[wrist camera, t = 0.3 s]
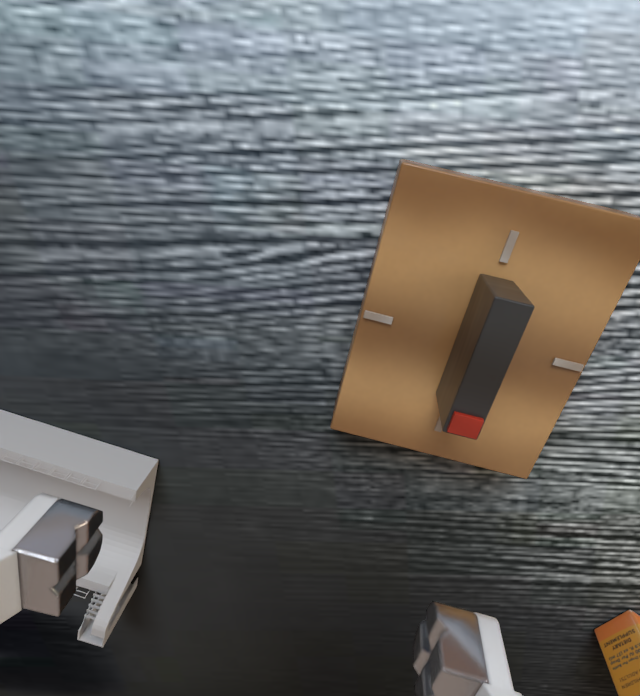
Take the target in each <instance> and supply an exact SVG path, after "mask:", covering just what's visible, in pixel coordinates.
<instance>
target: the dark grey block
mask: <svg viewBox="0 0 640 696" xmlns="http://www.w3.org/2000/svg"><path fill="white" fill-rule="evenodd" d="M534 308H535V306H534V305H533V304H532V303H531V301H530V300H529V299H528V298H527V297H526V295H525V294H524V293H523V292H522V291H521V289H520V288H519V287H518V286H517V285H516V284H515V282H514V281H510V280H506V279H502V278H498V277H494V276H490V275H486V274H480V275H479V277H478V280H477V283H476V286H475V288H474V291H473V294H472V296H471V299H470V302H469V304H468V307H467V310H466V313H465V315H464V318H463V321H462V323H461V326H460V329H459V331H458V334H457V337H456V339H455V342H454V345H453V348H452V350H451V353H450V356H449V358H448V361H447V364H446V366H445V369H444V372H443V375H442V377H441V380H440V383H439V385H438V388H437V391H436V397H437V403H438V409H439V414H440V420H441V425H442V431H443V432H447V433H450V434H454V435H458V436H462V437H466V438H470V439H474V440H477V439H478V436H479V434H480V432H481V429H482V427H483V425H484V423H485V420H486V418H487V416H488V413H489V411H490V409H491V407H492V404H493V402H494V400H495V397H496V395H497V393H498V390H499V388H500V386H501V384H502V381H503V379H504V377H505V374H506V372H507V370H508V368H509V365H510V363H511V361H512V358H513V356H514V354H515V351H516V349H517V347H518V345H519V342H520V340H521V338H522V335H523V333H524V331H525V329H526V326H527V324H528V322H529V319H530V317H531V315H532V312H533V310H534Z"/></svg>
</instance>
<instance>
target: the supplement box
mask: <svg viewBox="0 0 640 696" xmlns="http://www.w3.org/2000/svg"><path fill="white" fill-rule="evenodd" d="M594 631H595V634H596V637H597V639H598V642H599V645H600V647H601V650H602V652H603V655H604V658H605V660H606V663H607V666H608V669H609V671H610V674H611V677H612V679H613V682H614V685H615V687H616V690H617V693H618V695H619V696H640V616H639V615H638V614H636V613H635V612H634V611H632V610H627V611H625V612H624V613H622V614H620V615H618V616H617V617H615V618H613V619H612V620H610V621H608V622H606V623H605V624H603V625H601V626H599V627H597V628H596V629H595V630H594Z"/></svg>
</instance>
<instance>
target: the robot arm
mask: <svg viewBox="0 0 640 696" xmlns="http://www.w3.org/2000/svg"><path fill="white" fill-rule="evenodd" d="M102 522H103V511H101V510H98V509H95V508H92V507H88V506H85V505H82V504H79V503H75V502H72V501H69V500H65V499H62V498H58V497H55V496H52V495H48V494H45V493H41V494H39V495H37V496H35V497H34V498H33V499H32V500H31V501H30V502H29V503H28V504H27V505H26V506H25V507H24V508H23V509H22V510H21V511H20V512H19V513H18V514H17V515H16V516H15V517H14V518H13V519H12V520H11V521H10V522H9V523H8V524H7V525H6V526H5V527H4V528H3V529H2V530H1V531H0V624H1V623H2V622H4V621H6V620H7V619H9V618H10V617H12V616H13V615H15V614H16V613H18V612H19V611H21V610H22V608H25V609H29V610H33V611H37V612H41V613H45V614H49V615H53V616H57V617H58V616H59V615H60V614H61V612H62V611H63V609H64V608H65V606H66V605H67V603H68V602H69V601H70V599H71V598H72V596H73V595H74V593H75V592H76V580H78V579H80V578H82V577H84V576H85V575H87V574H88V573H89V571H90V570H91V568H92V567H93V565H94V564H95V561H96V559H97V557H98V555H99V553H100V550H101V546H102V540H103V534H102V533H101V531H100V530H99V526H100V525H101V523H102ZM426 617H427V619H426V620H424V621H422V622H420V624H419V626H418V629H417V631H416V635H415V639H414V644H413V666H414V668H415V669H416V671H417V673H418V674H419V677H418V679H417V681H416V683H415V685H414V695H415V696H522V694H521V693H518V692H515V691H514V688H513V684H512V679H511V675H510V671H509V666H508V662H507V657H506V653H505V648H504V644H503V640H502V635H501V631H500V626H499V622H498V621H497V619H496V618H494V617H490V616H487V615H483V614H479V613H476V612H473V611H470V610H466V609H462V608H459V607H455V606H451V605H447V604H443V603H439V602H436V601H432V602H431V603H430V604H429V606H428V608H427V609H426Z"/></svg>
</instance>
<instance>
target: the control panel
mask: <svg viewBox="0 0 640 696" xmlns="http://www.w3.org/2000/svg"><path fill="white" fill-rule="evenodd" d="M639 260H640V217H639V216H636V215H633V214H630V213H627V212H624V211H619V210H615V209H611V208H607V207H603V206H598V205H594V204H590V203H586V202H582V201H577V200H573V199H569V198H565V197H561V196H556V195H552V194H548V193H544V192H540V191H535V190H531V189H527V188H523V187H519V186H514V185H510V184H506V183H502V182H498V181H493V180H489V179H485V178H481V177H477V176H472V175H468V174H464V173H460V172H456V171H451V170H447V169H443V168H439V167H435V166H431V165H426V164H422V163H418V162H414V161H410V160H405V159H400V161H399V165H398V169H397V173H396V176H395V180H394V184H393V188H392V191H391V195H390V199H389V203H388V206H387V210H386V214H385V218H384V221H383V225H382V229H381V233H380V236H379V240H378V244H377V248H376V251H375V255H374V259H373V263H372V266H371V270H370V274H369V278H368V281H367V285H366V289H365V293H364V296H363V300H362V304H361V308H360V311H359V315H358V319H357V323H356V326H355V330H354V334H353V338H352V341H351V345H350V349H349V353H348V356H347V360H346V364H345V368H344V371H343V375H342V379H341V383H340V386H339V390H338V394H337V398H336V401H335V406H334V411H333V416H332V421H331V426H330V427H331V429H334V430H338V431H342V432H346V433H349V434H353V435H357V436H361V437H365V438H369V439H373V440H377V441H380V442H384V443H388V444H392V445H396V446H400V447H404V448H408V449H412V450H415V451H419V452H423V453H427V454H431V455H435V456H439V457H443V458H447V459H450V460H454V461H458V462H462V463H466V464H470V465H474V466H478V467H482V468H485V469H489V470H493V471H497V472H501V473H505V474H509V475H513V476H517V477H520V478H524V479H527V478H528V476H529V474H530V472H531V470H532V468H533V466H534V464H535V462H536V460H537V458H538V456H539V454H540V453H541V451H542V449H543V447H544V445H545V443H546V441H547V439H548V437H549V435H550V433H551V431H552V429H553V427H554V425H555V423H556V421H557V419H558V418H559V416H560V414H561V412H562V410H563V408H564V406H565V404H566V402H567V400H568V398H569V396H570V394H571V392H572V390H573V388H574V386H575V384H576V383H577V381H578V379H579V377H580V375H581V373H582V371H583V369H584V367H585V365H586V363H587V361H588V359H589V357H590V355H591V353H592V351H593V349H594V348H595V346H596V344H597V342H598V340H599V338H600V336H601V334H602V332H603V330H604V328H605V326H606V324H607V322H608V320H609V318H610V316H611V314H612V312H613V311H614V309H615V307H616V305H617V303H618V301H619V299H620V297H621V295H622V293H623V291H624V289H625V287H626V285H627V283H628V281H629V279H630V277H631V276H632V274H633V272H634V270H635V268H636V266H637V264H638V262H639ZM480 274H486V275H490V276H494V277H498V278H502V279H506V280H510V281H514V282H515V284H516V285H517V286H518V287H519V288H520V289H521V291H522V292H523V293H524V294H525V295H526V297H527V298H528V299H529V300H530V301H531V303H532V304H533V305H534V306H535V308H534V310H533V312H532V315H531V317H530V319H529V322H528V324H527V326H526V329H525V331H524V333H523V335H522V338H521V340H520V342H519V345H518V347H517V349H516V351H515V354H514V356H513V358H512V361H511V363H510V365H509V368H508V370H507V372H506V374H505V377H504V379H503V381H502V384H501V386H500V388H499V390H498V393H497V395H496V397H495V400H494V402H493V404H492V407H491V409H490V411H489V413H488V416H487V418H486V420H485V423H484V425H483V427H482V429H481V432H480V434H479V436H478V439H477V440H474V439H470V438H466V437H462V436H458V435H454V434H450V433H447V432H443V431H442V425H441V420H440V414H439V409H438V403H437V397H436V391H437V388H438V385H439V383H440V380H441V377H442V375H443V372H444V369H445V366H446V364H447V361H448V358H449V356H450V353H451V350H452V348H453V345H454V342H455V339H456V337H457V334H458V331H459V329H460V326H461V323H462V321H463V318H464V315H465V313H466V310H467V307H468V304H469V302H470V299H471V296H472V294H473V291H474V288H475V286H476V283H477V280H478V277H479V275H480Z"/></svg>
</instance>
